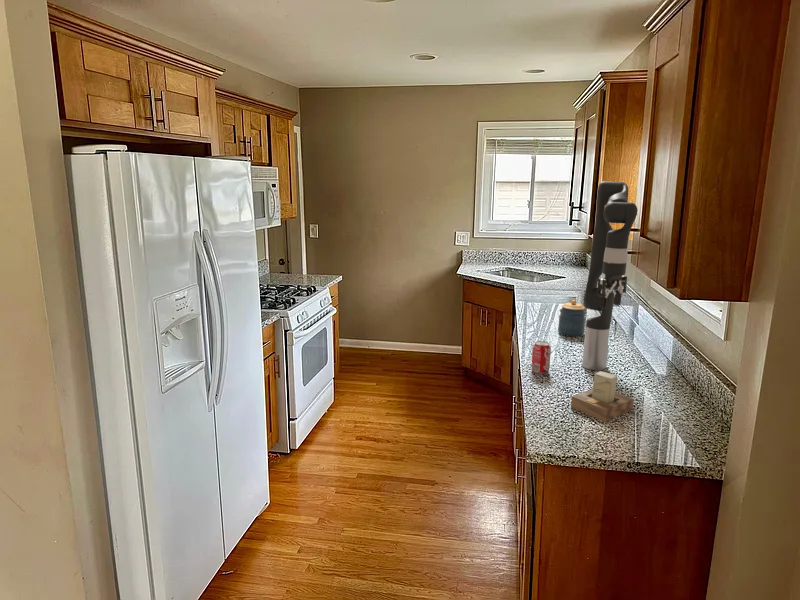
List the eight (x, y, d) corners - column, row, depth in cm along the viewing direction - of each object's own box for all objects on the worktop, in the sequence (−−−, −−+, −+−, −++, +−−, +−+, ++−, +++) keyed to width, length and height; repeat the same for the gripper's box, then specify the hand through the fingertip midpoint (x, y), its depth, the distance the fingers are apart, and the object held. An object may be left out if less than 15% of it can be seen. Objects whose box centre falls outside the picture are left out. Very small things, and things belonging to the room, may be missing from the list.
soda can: (549, 369, 218) (551, 341, 215) (548, 375, 211) (551, 346, 208) (531, 367, 219) (533, 339, 217) (530, 373, 213) (532, 344, 210)
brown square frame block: (598, 397, 190) (599, 386, 189) (632, 409, 180) (634, 398, 179) (570, 407, 181) (571, 395, 180) (605, 421, 171) (606, 409, 170)
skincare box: (589, 407, 182) (593, 373, 179) (596, 403, 185) (599, 370, 182) (607, 413, 177) (611, 378, 175) (613, 409, 180) (617, 375, 178)
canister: (579, 339, 263) (582, 304, 259) (553, 334, 270) (556, 300, 266) (587, 333, 273) (591, 299, 269) (563, 329, 280) (566, 296, 277)
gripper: (616, 258, 192) (612, 302, 195) (593, 260, 184) (588, 306, 187) (636, 260, 186) (631, 306, 190) (613, 263, 178) (607, 311, 181)
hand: (610, 306), depth 188 cm, fingers open, 8 cm apart
